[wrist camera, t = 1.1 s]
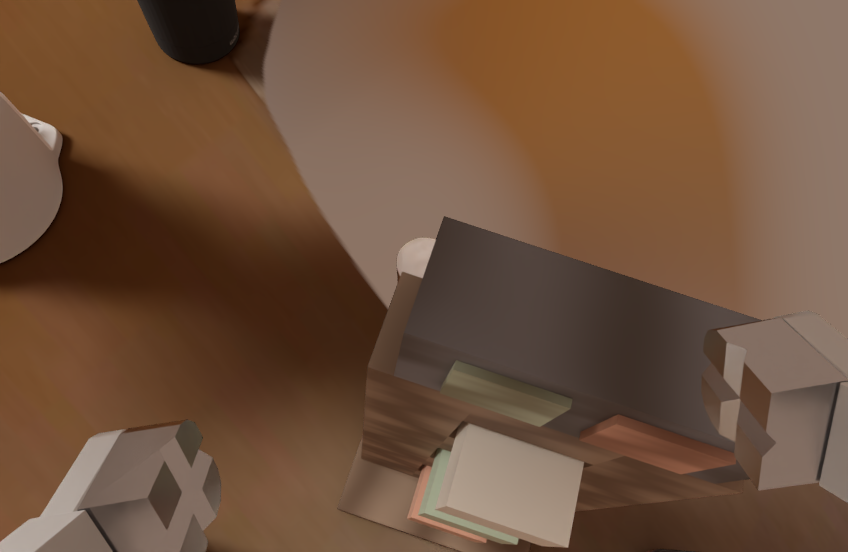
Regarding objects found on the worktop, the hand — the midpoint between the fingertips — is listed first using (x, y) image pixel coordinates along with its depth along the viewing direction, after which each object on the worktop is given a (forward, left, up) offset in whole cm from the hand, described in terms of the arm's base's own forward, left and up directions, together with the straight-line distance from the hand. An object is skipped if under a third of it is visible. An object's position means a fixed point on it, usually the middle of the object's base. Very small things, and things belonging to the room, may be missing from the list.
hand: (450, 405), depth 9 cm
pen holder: (-43, +29, -41) cm, 66 cm away
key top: (+4, +4, -19) cm, 20 cm away
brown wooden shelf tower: (+3, +6, -41) cm, 42 cm away
